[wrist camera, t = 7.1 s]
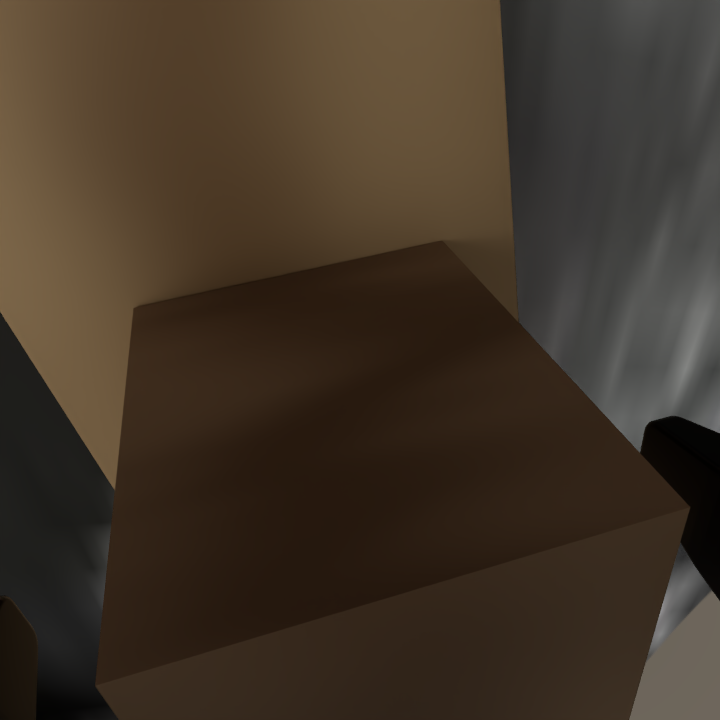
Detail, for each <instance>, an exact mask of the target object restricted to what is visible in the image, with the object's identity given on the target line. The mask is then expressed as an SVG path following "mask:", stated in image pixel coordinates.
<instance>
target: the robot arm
mask: <svg viewBox="0 0 720 720" xmlns="http://www.w3.org/2000/svg"><path fill="white" fill-rule="evenodd" d="M640 454H641V455H642V456H643V457H644V458H645V459H646V460H647V461H648V462H649V463H650V464H651V466H652V467H653V468H654V469H655V470H656V471H657V472H658V473H659V474H660V475H661V476H662V477H663V478H664V480H665V481H666V482H667V483H668V484H669V485H670V486H671V487H672V488H673V489H674V490H675V491H676V492H677V494H678V495H679V496H680V497H681V498H682V499H683V500H684V501H685V502H686V503H687V504H688V505H689V506H690V510H689V513H688V517H687V520H686V524H685V527H684V531H683V534H682V537H681V541H680V543H681V544H682V546H683V548H684V549H685V551H686V553H687V554H688V556H689V558H690V559H691V561H692V562H693V564H694V565H695V567H696V568H697V570H698V571H699V573H700V574H701V576H702V577H703V578H704V580H705V581H706V583H707V584H708V585H709V587H710V588H711V590H712V591H713V592H714V594H715V595H716V596H717V598H718V599H719V600H720V433H718V432H715V431H713V430H710V429H708V428H706V427H703V426H701V425H698V424H696V423H694V422H691V421H689V420H686V419H684V418H681V417H678V416H669V417H665V418H661V419H658V420H654V421H651V422H649V423H648V424H647V426H646V427H645V431H644V436H643V441H642V446H641V451H640ZM37 668H38V641H37V636H36V633H35V631H34V629H33V627H32V626H31V625H30V623H29V622H28V621H27V619H26V618H25V616H24V615H23V614H22V612H21V611H20V610H19V608H18V607H17V606H16V604H15V603H14V601H13V600H12V599H11V598H9V597H7V596H5V595H4V596H0V720H36V702H37Z"/></svg>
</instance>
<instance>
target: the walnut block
mask: <svg viewBox="0 0 720 720" xmlns="http://www.w3.org/2000/svg"><path fill="white" fill-rule="evenodd" d="M689 510H690V506H689V505H688V504H687V503H686V502H685V501H684V500H683V499H682V498H681V497H680V496H679V495H678V494H677V492H676V491H675V490H674V489H673V488H672V487H671V486H670V485H669V484H668V483H667V482H666V481H665V480H664V478H663V477H662V476H661V475H660V474H659V473H658V472H657V471H656V470H655V469H654V468H653V467H652V466H651V464H650V463H649V462H648V461H647V460H646V459H645V458H644V457H643V456H642V455H641V454H640V453H639V452H638V450H637V449H636V448H635V447H634V446H633V445H632V444H631V443H630V442H629V441H628V440H627V439H626V438H625V436H624V435H623V434H622V433H621V432H620V431H619V430H618V429H617V428H616V427H615V426H614V425H613V424H612V423H611V421H610V420H609V419H608V418H607V417H606V416H605V415H604V414H603V413H602V412H601V411H600V410H599V409H598V407H597V406H596V405H595V404H594V403H593V402H592V401H591V400H590V399H589V398H588V397H587V396H586V395H585V393H584V392H583V391H582V390H581V389H580V388H579V387H578V386H577V385H576V384H575V383H574V382H573V381H572V379H571V378H570V377H569V376H568V375H567V374H566V373H565V372H564V371H563V370H562V369H561V368H560V367H559V365H558V364H557V363H556V362H555V361H554V360H553V359H552V358H551V357H550V356H549V355H548V354H547V353H546V351H545V350H544V349H543V348H542V347H541V346H540V345H539V344H538V343H537V342H536V341H535V340H534V339H533V338H532V336H531V335H530V334H529V333H528V332H527V331H526V330H525V329H524V328H523V327H522V326H521V325H520V324H519V322H518V321H517V320H516V319H515V318H514V317H513V316H512V315H511V314H510V313H509V312H508V311H507V310H506V308H505V307H504V306H503V305H502V304H501V303H500V302H499V301H498V300H497V299H496V298H495V297H494V296H493V294H492V293H491V292H490V291H489V290H488V289H487V288H486V287H485V286H484V285H483V284H482V283H481V282H480V280H479V279H478V278H477V277H476V276H475V275H474V274H473V273H472V272H471V271H470V270H469V269H468V268H467V267H466V265H465V264H464V263H463V262H462V261H461V260H460V259H459V258H458V257H457V256H456V255H455V254H454V253H453V251H452V250H451V249H450V248H449V247H448V246H447V245H446V244H445V243H444V242H443V241H438V242H433V243H429V244H424V245H420V246H415V247H410V248H406V249H401V250H397V251H392V252H388V253H383V254H378V255H374V256H369V257H365V258H360V259H355V260H351V261H346V262H342V263H337V264H333V265H328V266H323V267H319V268H314V269H310V270H305V271H301V272H296V273H291V274H287V275H282V276H278V277H273V278H268V279H264V280H259V281H255V282H250V283H246V284H241V285H236V286H232V287H227V288H223V289H218V290H213V291H209V292H204V293H200V294H195V295H191V296H186V297H181V298H177V299H172V300H168V301H163V302H159V303H154V304H149V305H145V306H140V307H136V308H133V317H132V327H131V337H130V347H129V357H128V366H127V376H126V386H125V396H124V406H123V416H122V426H121V435H120V445H119V455H118V465H117V475H116V485H115V495H114V504H113V514H112V524H111V534H110V544H109V554H108V563H107V573H106V583H105V593H104V603H103V613H102V623H101V632H100V642H99V652H98V662H97V672H96V682H95V686H96V688H97V689H98V691H99V692H100V694H101V695H102V696H103V698H104V699H105V701H106V702H107V703H108V705H109V706H110V708H111V709H112V710H113V712H114V713H115V715H116V716H117V718H118V719H119V720H629V718H630V715H631V711H632V708H633V704H634V701H635V697H636V694H637V690H638V687H639V683H640V680H641V676H642V673H643V669H644V666H645V662H646V659H647V655H648V652H649V649H650V645H651V642H652V638H653V635H654V631H655V628H656V624H657V621H658V617H659V614H660V610H661V607H662V603H663V600H664V596H665V593H666V590H667V586H668V583H669V579H670V576H671V572H672V569H673V565H674V562H675V558H676V555H677V551H678V548H679V544H680V541H681V537H682V534H683V531H684V527H685V524H686V520H687V517H688V513H689Z"/></svg>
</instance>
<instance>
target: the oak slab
mask: <svg viewBox="0 0 720 720" xmlns="http://www.w3.org/2000/svg"><path fill="white" fill-rule="evenodd" d="M438 241H443V242H444V243H445V244H446V245H447V246H448V247H449V248H450V249H451V250H452V251H453V253H454V254H455V255H456V256H457V257H458V258H459V259H460V260H461V261H462V262H463V263H464V264H465V265H466V267H467V268H468V269H469V270H470V271H471V272H472V273H473V274H474V275H475V276H476V277H477V278H478V279H479V280H480V282H481V283H482V284H483V285H484V286H485V287H486V288H487V289H488V290H489V291H490V292H491V293H492V294H493V296H494V297H495V298H496V299H497V300H498V301H499V302H500V303H501V304H502V305H503V306H504V307H505V308H506V310H507V311H508V312H509V313H510V314H511V315H512V316H513V317H514V318H515V319H516V320H517V321H518V322H519V319H518V302H517V285H516V268H515V251H514V234H513V216H512V199H511V182H510V165H509V148H508V131H507V114H506V97H505V80H504V63H503V46H502V29H501V12H500V0H0V312H1V314H2V315H3V317H4V318H5V320H6V321H7V323H8V324H9V326H10V328H11V329H12V331H13V332H14V334H15V335H16V337H17V338H18V340H19V342H20V343H21V345H22V346H23V348H24V349H25V351H26V353H27V354H28V356H29V357H30V359H31V360H32V362H33V363H34V365H35V367H36V368H37V370H38V371H39V373H40V374H41V376H42V377H43V379H44V381H45V382H46V384H47V385H48V387H49V388H50V390H51V391H52V393H53V395H54V396H55V398H56V399H57V401H58V402H59V404H60V406H61V407H62V409H63V410H64V412H65V413H66V415H67V416H68V418H69V420H70V421H71V423H72V424H73V426H74V427H75V429H76V430H77V432H78V434H79V435H80V437H81V438H82V440H83V441H84V443H85V444H86V446H87V448H88V449H89V451H90V452H91V454H92V455H93V457H94V459H95V460H96V462H97V463H98V465H99V466H100V468H101V469H102V471H103V473H104V474H105V476H106V477H107V479H108V480H109V482H110V483H111V485H112V487H113V488H114V490H115V485H116V475H117V465H118V455H119V445H120V435H121V426H122V416H123V406H124V396H125V386H126V376H127V366H128V357H129V347H130V337H131V327H132V317H133V308H136V307H140V306H145V305H149V304H154V303H159V302H163V301H168V300H172V299H177V298H181V297H186V296H191V295H195V294H200V293H204V292H209V291H213V290H218V289H223V288H227V287H232V286H236V285H241V284H246V283H250V282H255V281H259V280H264V279H268V278H273V277H278V276H282V275H287V274H291V273H296V272H301V271H305V270H310V269H314V268H319V267H323V266H328V265H333V264H337V263H342V262H346V261H351V260H355V259H360V258H365V257H369V256H374V255H378V254H383V253H388V252H392V251H397V250H401V249H406V248H410V247H415V246H420V245H424V244H429V243H433V242H438Z"/></svg>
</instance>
